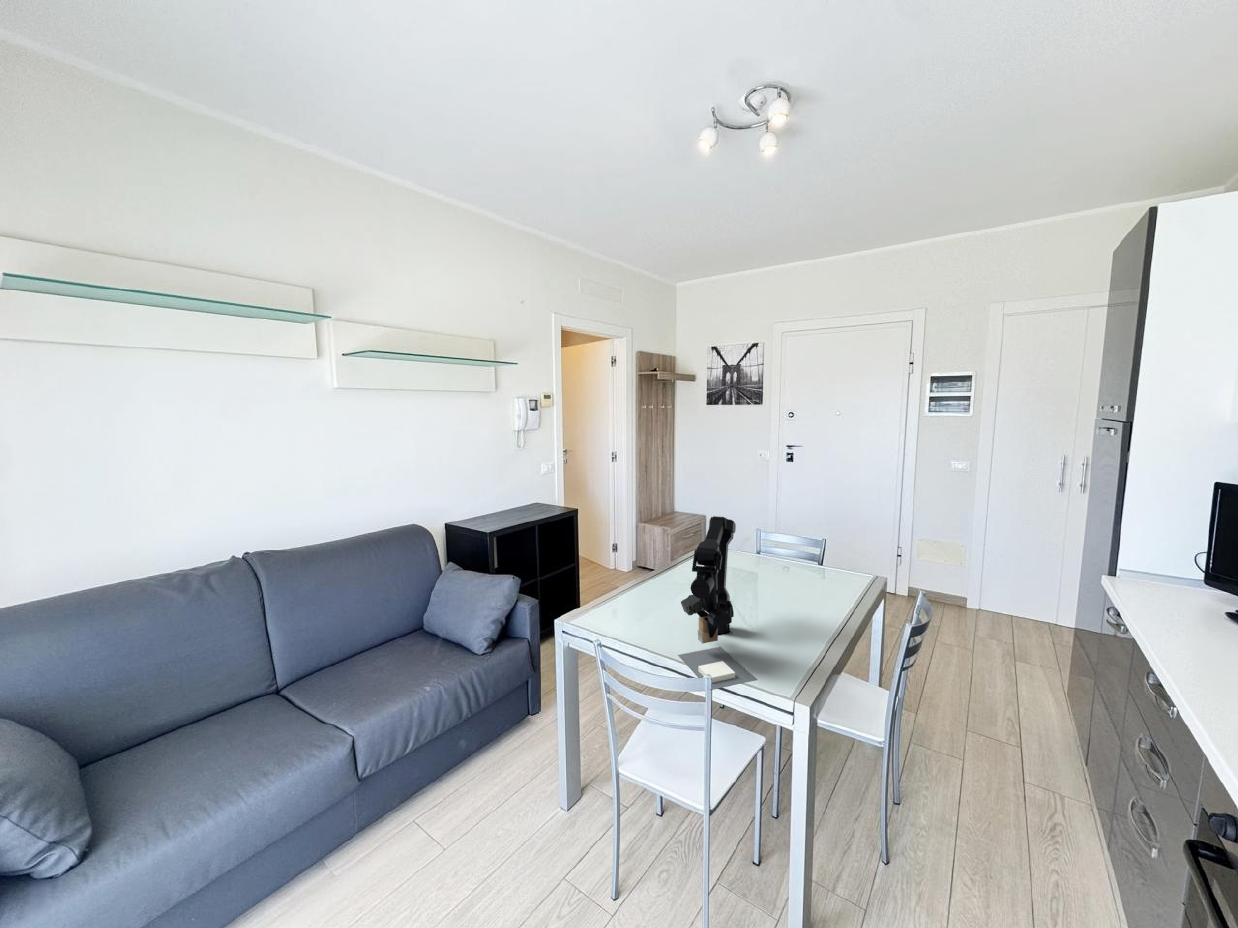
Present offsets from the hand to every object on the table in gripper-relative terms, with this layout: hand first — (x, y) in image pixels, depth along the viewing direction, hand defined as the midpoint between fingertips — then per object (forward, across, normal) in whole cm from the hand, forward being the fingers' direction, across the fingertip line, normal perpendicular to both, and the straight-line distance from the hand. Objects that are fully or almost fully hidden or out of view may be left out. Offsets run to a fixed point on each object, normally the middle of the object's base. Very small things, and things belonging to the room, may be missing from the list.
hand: (708, 634), depth 155 cm
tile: (+5, +12, 0) cm, 13 cm away
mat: (+6, +8, -2) cm, 10 cm away
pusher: (+2, 0, 0) cm, 2 cm away
